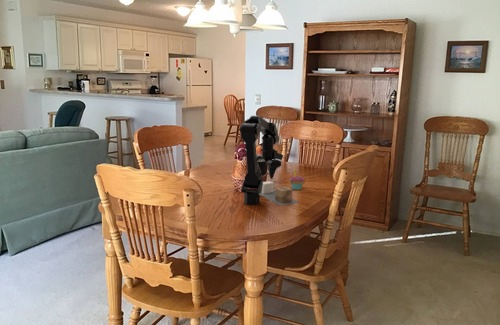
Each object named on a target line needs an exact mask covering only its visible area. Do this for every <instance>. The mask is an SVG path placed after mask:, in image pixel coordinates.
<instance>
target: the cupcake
mask: <svg viewBox="0 0 500 325" xmlns="http://www.w3.org/2000/svg"><path fill="white" fill-rule="evenodd" d="M288 182H289V183H290V185H291V189H292V190H295V191H297V190H298V191H299V190H302V187H303V185H304V184H305V183H306V180H305V178H304V177H303V176H302V175H301V176H300V175H297V174H296V169H295V168H293V176H291V177H290V178H289V180H288Z"/></svg>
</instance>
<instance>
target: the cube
mask: <svg viewBox="0 0 500 325" xmlns="http://www.w3.org/2000/svg"><path fill="white" fill-rule="evenodd" d="M274 190H275V200H276V201H278V202H280V203H287V202H292V199H293V190H294V189H292V188H290V187H288V186H281V187H275V189H274Z"/></svg>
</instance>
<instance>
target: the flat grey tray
mask: <svg viewBox="0 0 500 325" xmlns="http://www.w3.org/2000/svg"><path fill="white" fill-rule="evenodd" d="M274 188H275V184H274V182H273V181H269V180H268V181H263V186H262V192H261V193H260V194H259V195H260V197H261V196H262V197H263V198H265V199H267V200H268V201H271V202H272V203H275V204H276V205H278V206H286V205H294V204H298V203H300V202H299V201H297V200H295V199H293V198H292V202H287V203H280V202H278V201H276V200H275V189H274Z"/></svg>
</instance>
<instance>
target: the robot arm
mask: <svg viewBox="0 0 500 325" xmlns="http://www.w3.org/2000/svg"><path fill="white" fill-rule="evenodd" d="M239 133H240V137H241V140H242V141H243V143H244V144H245V155H246V158H245V159H246V169H247V173H246V174H245V175H244V179H243V181H242V182H243V183H242V186H241V188H240V191H241V193H244V197H243V198H244V200H243V202H244V203H243V204H244V205H245V206H246V207H247V208H249V207H248V206H256V205H258V204H260V200H261V199H260V197H261V195H259V194H260V193H261V192H262V186H263V182H264V181H263V177H262V176H264V175H265V169H266V167H267V171H268V175H269V178H270V180H271V179H272V180H273V179H274V176H275V172H276V171H277V169H278V168H280V167H282V161H283V159H284V154H282V153H280V152H278V150H276V149H275V148H274V146H275V145H277V144H279V142H280V136H279V132H278V129H277V125H276V123H275V122H269V121H268V120H265V119H264V118H263V117H262V116H261V115H250V117H249V118H247V119H246V120H244V121H243V122H242V123H241V125H240V127H239ZM260 133H261V134H262V136H261V142H262V144H261V148H260V151H261V154H258V153H257V140H258V138H259V136H260ZM257 161H258V162H257ZM257 164H258V165H257ZM266 164H267V166H266Z"/></svg>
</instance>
